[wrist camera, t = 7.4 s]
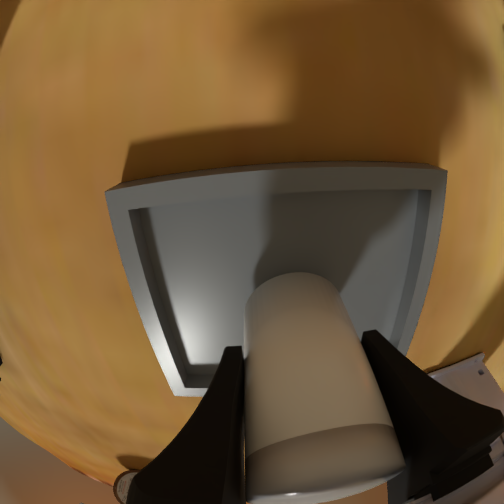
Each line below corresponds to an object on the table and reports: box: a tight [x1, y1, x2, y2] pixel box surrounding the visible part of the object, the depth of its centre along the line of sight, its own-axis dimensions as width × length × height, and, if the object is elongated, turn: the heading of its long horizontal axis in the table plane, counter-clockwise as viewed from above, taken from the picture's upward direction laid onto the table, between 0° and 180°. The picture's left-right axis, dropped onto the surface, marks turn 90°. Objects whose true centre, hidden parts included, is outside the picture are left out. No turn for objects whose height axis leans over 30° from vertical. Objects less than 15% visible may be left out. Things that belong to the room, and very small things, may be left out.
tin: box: [113, 470, 141, 504], centre depth 27 cm, size 15×3×8 cm, turn 87°
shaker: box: [244, 272, 406, 504], centre depth 10 cm, size 5×5×9 cm
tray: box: [105, 161, 447, 396], centre depth 14 cm, size 16×14×2 cm
